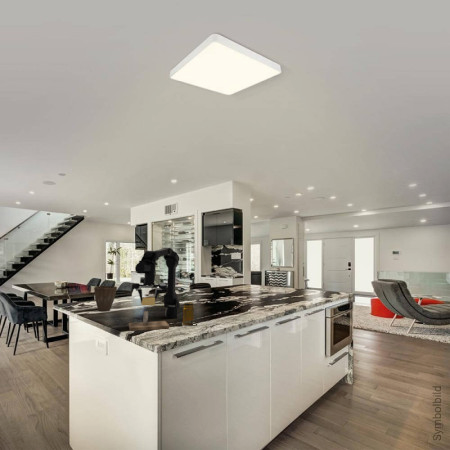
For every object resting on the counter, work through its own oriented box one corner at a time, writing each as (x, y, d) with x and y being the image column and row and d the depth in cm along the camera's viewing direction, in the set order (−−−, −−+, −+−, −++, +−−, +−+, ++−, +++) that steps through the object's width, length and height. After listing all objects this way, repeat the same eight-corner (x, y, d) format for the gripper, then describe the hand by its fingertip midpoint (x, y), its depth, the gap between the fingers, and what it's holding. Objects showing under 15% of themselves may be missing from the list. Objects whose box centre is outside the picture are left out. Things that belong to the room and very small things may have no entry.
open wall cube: (153, 303, 167) (153, 297, 168) (154, 305, 161) (155, 298, 162) (141, 303, 165) (141, 297, 165) (142, 305, 159) (142, 298, 159)
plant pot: (93, 308, 210) (95, 285, 212) (116, 308, 215) (117, 285, 217) (91, 312, 196) (92, 288, 198) (115, 312, 201) (116, 288, 202)
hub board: (165, 323, 170) (165, 308, 171) (169, 328, 159) (169, 312, 160) (128, 325, 163) (129, 309, 164) (130, 330, 152) (131, 313, 153)
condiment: (182, 323, 173) (183, 302, 175) (196, 323, 174) (197, 302, 176) (181, 326, 166) (182, 304, 168) (196, 326, 167) (197, 304, 168)
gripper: (164, 273, 176) (162, 300, 174) (131, 272, 169) (129, 300, 167) (167, 273, 166) (166, 302, 164) (132, 273, 159) (130, 303, 157)
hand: (148, 302), depth 163 cm, fingers closed on open wall cube, 7 cm apart
